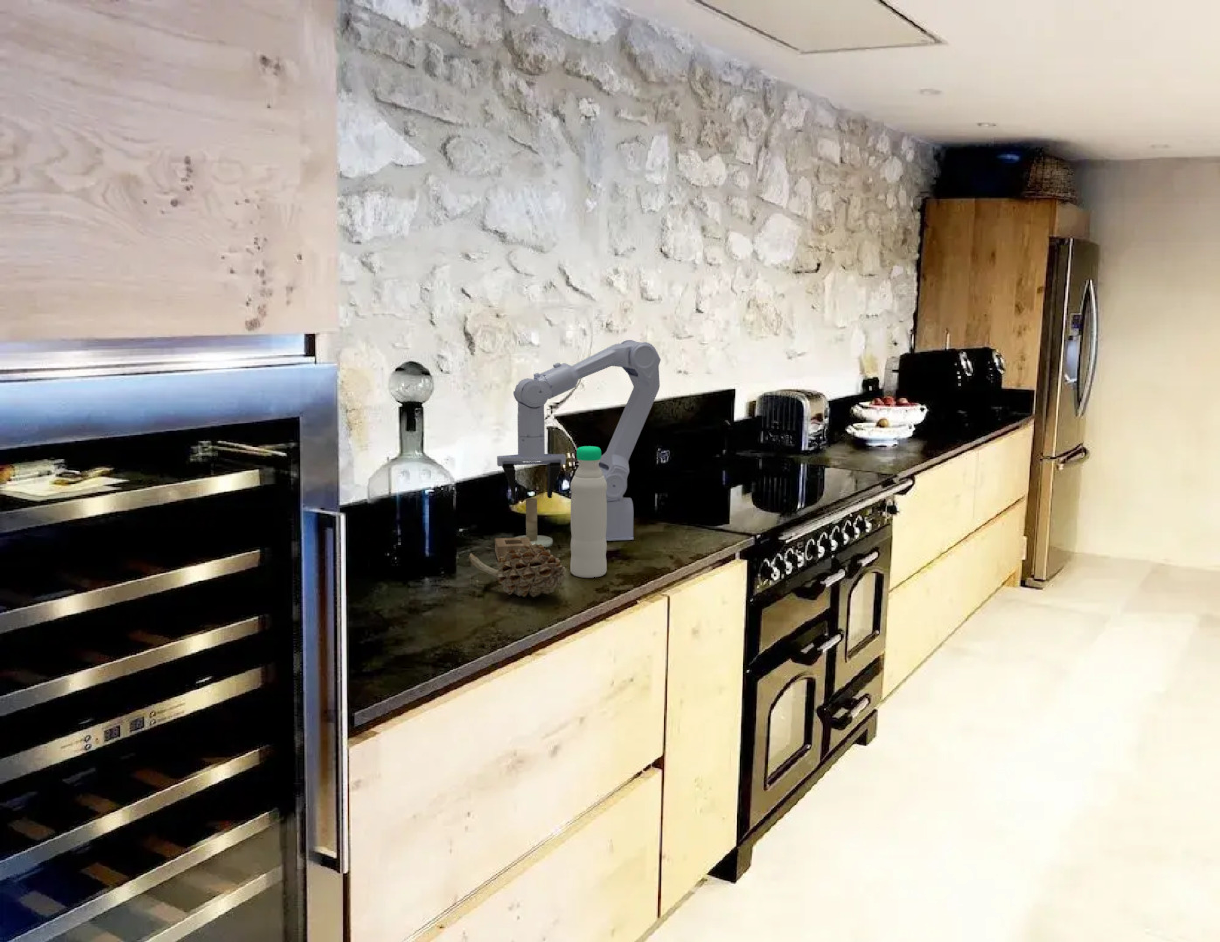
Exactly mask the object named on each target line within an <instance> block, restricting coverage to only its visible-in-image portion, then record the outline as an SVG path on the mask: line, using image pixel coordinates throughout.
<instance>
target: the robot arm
mask: <svg viewBox="0 0 1220 942" xmlns="http://www.w3.org/2000/svg"><path fill="white" fill-rule="evenodd" d="M660 363H661V357H660V355H659V353H658V351H657V349H656V347H655V346H654V345H653V344H651V343H649V342H647V341H646V342H645V341H644V342H643V341H642V342H641V341H636V340H632V339H627V340H623V341H622V342H620V343H619V342H618V343H615V344H612V345H610V346H609V347H607V348H604V349H602V350H600V351H598V352H597V353H594V354H593V355H591V356H589V357H586V358H585V359H582V360H581V361H579V362H577V363H575V364H573V365H570V364H569V363H566V362H564V363H560V362H556V363H554V364H553V365H552V366H553V367H552V368H550V369H548V370H545V371H544V372H541V373H539V372H535V373H533V378H523V379H520V380H519V381H518V383H517V384H516V386H515V388H514V390H513V398H514V399H515V401H516V402H517V454H507V455H497V456H496V464H497V465H496V466H497V467H502V470H503V472H504V473H505V477H506V479H507V481H508V485H509V488H510V493H511V499H512V500H517V491H516V490H517V489H516V469H515V466H530V465H531V466H532V465H533V466H534V465H546V471H547V473H546V475H547V485H546V486H547V489H546V494H547V496H546V497H547V499H552V497H553V492H554V487H555V484H556V482H557V479H558V476H559V474H560V472H561V470H562V465H567V464H566V463H567V461H566V458H567V456H566V455H565V454H564V453H546V452H545V451H546V446H545V445H546V444H545V440H546V439H545V437H546V435H545V432H546V430H545V405H546V403H547V402H548V400H551V399H554V398H556V397H557V396H559V395H562V394H564V393H566V392H569V391H570V390H572V389H575V388H576V386H577V384H578V382H579V380H580V379H583V378H585V377H587V376H591V375H593V374H595V373H597V372H601V371H602V370H605V369H608V368H610V367H618V368H622V369H623V370H624V371H625V373H627V374H628V377H629V379H630V381H631V383H632V385H633V386H632V387H633V388H632V389H631V390H632V391H631V393H630V395H629V398H628V400H627V401H626V402H627V403H626V405H625V407H624V408H623V412H622V413H621V416H620V418H619V421H618V423H617V425H616V428H615V430H614V432H613V435H612V437H611V439H610V441H609V444H608V446H607V448H606V451H605V452H604V453H603V454H601V459H600V460H601V461H600V462H599V467H600V469H601V471H602V473H603V476H604V478H605V480H606V482H607V490H606V499H607V527H606V542H607V541H608V542H611V541H613V542H615V541H631V540H633V541H634V502H633V500H632V498H631V497H624V495H625V493H626V491H627V489H628V477H629V474H630V464H629V461H630V458H631V455H632V453H633V451H634V449H635V447H636V444H637V441H638V439H639V437H640V435H641V432H642V430H643V428H644V425H645V423H646V421H647V419H648V416H649V414H650V411H651V409H652V407H653V404H654V401H655V400H656V398H657V395H658V392H659V390H660V385H661V384H660V383H661V381H660Z"/></svg>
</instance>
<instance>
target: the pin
mask: <svg viewBox="0 0 1220 942" xmlns="http://www.w3.org/2000/svg"><path fill="white" fill-rule="evenodd" d="M525 528H526V529H525V535H526V537H528V538H529V540H530V541H537V535H538V498H533V497H530V498H529V497H528V498H526V499H525Z"/></svg>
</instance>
